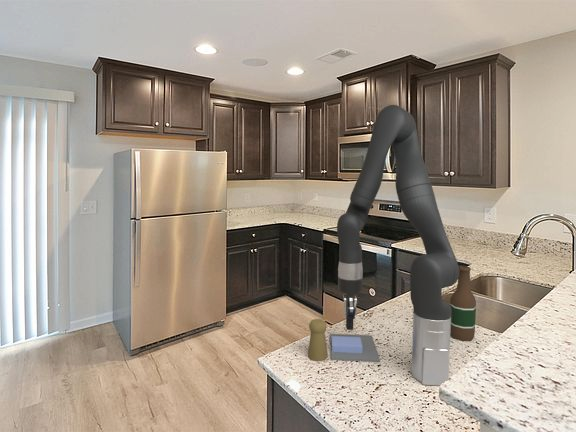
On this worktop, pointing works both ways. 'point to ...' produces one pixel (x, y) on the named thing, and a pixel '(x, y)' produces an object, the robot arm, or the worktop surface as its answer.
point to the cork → (317, 341)
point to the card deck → (346, 344)
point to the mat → (367, 353)
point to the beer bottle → (463, 308)
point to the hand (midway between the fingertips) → (349, 328)
